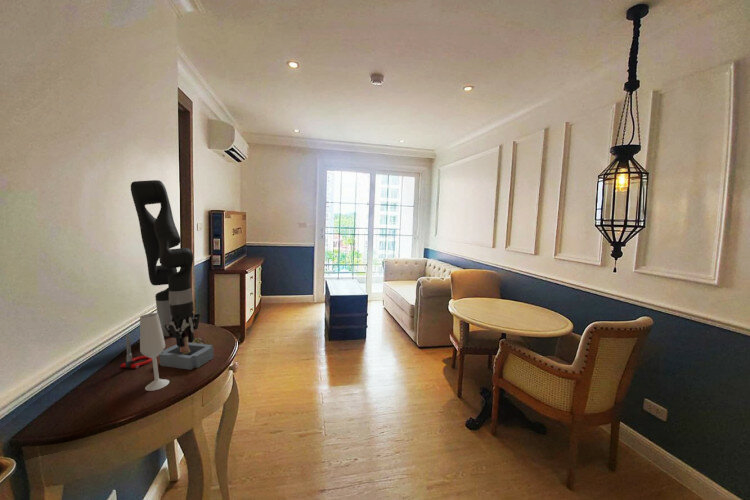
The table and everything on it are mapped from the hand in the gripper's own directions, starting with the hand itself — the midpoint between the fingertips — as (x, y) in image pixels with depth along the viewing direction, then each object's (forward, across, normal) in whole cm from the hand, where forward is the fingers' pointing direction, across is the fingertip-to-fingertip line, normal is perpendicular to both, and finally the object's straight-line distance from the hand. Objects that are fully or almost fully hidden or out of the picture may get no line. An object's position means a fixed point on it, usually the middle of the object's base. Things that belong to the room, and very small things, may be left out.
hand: (185, 344), depth 116 cm
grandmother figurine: (+4, 0, 0) cm, 4 cm away
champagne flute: (+7, +16, +4) cm, 18 cm away
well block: (+7, 0, 0) cm, 7 cm away
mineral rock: (+7, -10, -8) cm, 15 cm away
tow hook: (+7, +5, -18) cm, 20 cm away
